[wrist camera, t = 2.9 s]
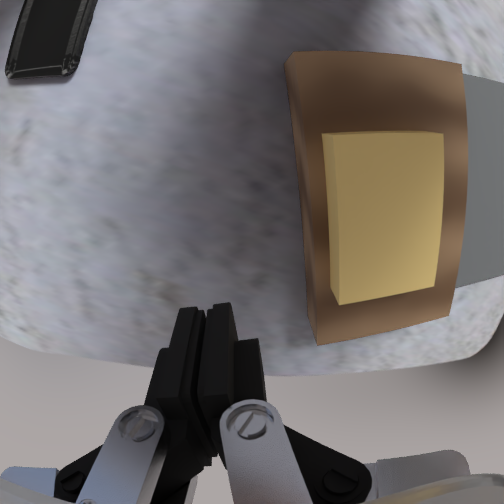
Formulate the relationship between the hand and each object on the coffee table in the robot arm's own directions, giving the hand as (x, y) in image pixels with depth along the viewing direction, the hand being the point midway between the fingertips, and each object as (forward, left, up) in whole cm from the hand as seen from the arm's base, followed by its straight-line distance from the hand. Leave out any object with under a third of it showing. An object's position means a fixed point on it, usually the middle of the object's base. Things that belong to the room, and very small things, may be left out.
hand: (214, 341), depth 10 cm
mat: (-1, +23, -13) cm, 27 cm away
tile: (-1, +10, -9) cm, 14 cm away
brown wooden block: (-1, +11, -14) cm, 18 cm away
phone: (-22, -11, -14) cm, 28 cm away
